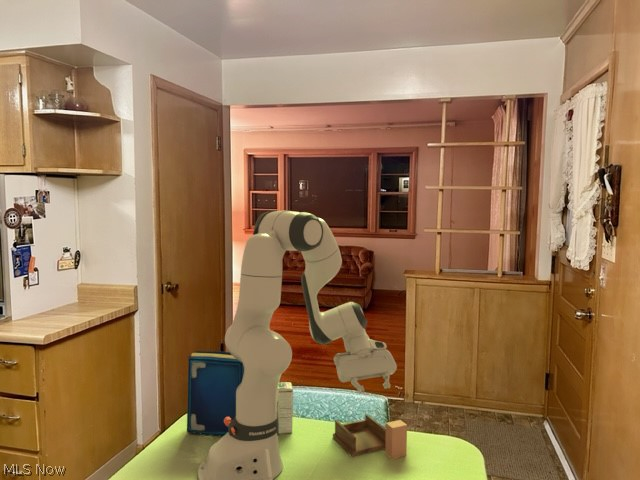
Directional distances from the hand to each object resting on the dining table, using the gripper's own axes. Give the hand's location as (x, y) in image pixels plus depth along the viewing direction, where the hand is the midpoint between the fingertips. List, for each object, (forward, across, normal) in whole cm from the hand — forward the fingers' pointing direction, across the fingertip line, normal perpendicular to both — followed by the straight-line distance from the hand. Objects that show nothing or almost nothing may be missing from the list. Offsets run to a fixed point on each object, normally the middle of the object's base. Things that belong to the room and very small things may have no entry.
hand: (375, 390), depth 140 cm
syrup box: (0, -25, +21) cm, 33 cm away
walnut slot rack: (+12, -6, +9) cm, 16 cm away
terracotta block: (+19, 0, +2) cm, 19 cm away
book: (-4, -43, +25) cm, 50 cm away
